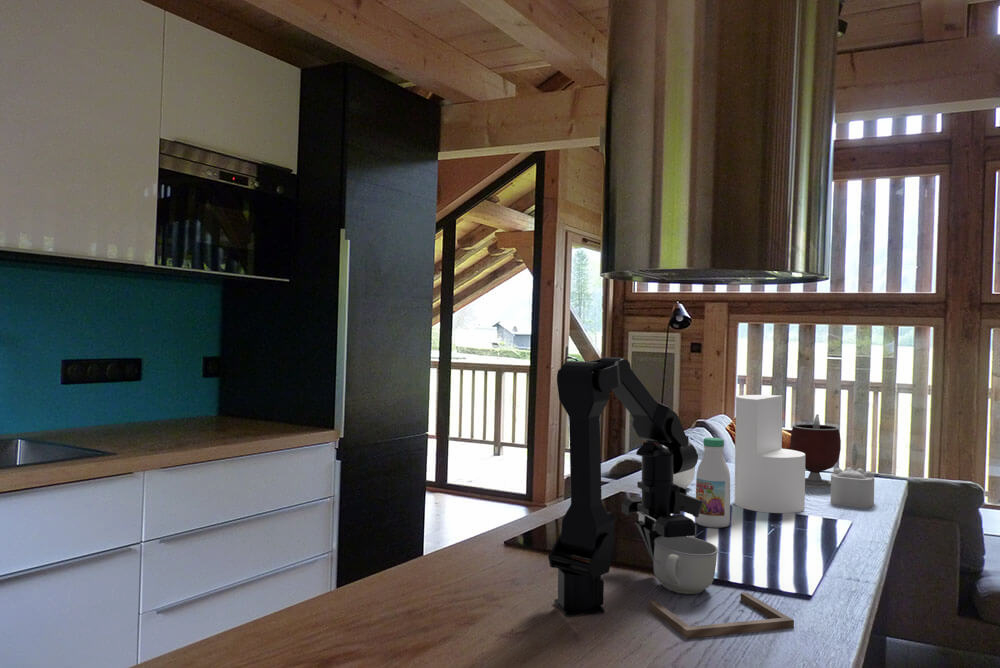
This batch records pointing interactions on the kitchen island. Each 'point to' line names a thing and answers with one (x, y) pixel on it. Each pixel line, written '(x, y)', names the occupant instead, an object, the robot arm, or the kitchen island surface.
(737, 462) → the white stepped block
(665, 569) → the teacup
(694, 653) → the kitchen island surface
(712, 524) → the milk bottle
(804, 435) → the mate gourd
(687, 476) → the lidded jar
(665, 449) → the robot arm
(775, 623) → the frame
